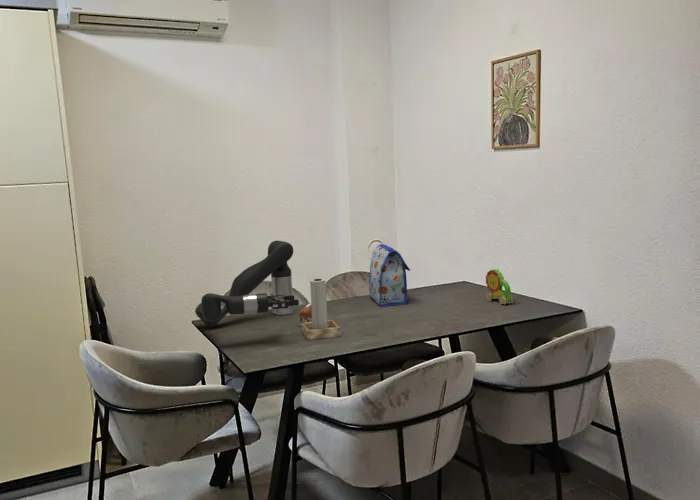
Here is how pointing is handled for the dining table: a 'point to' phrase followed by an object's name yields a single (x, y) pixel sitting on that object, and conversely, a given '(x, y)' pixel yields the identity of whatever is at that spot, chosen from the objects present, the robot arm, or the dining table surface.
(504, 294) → the toy lion
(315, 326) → the paper towel roll
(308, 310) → the bull figurine
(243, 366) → the dining table surface
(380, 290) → the lunch bag
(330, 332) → the wooden tray
